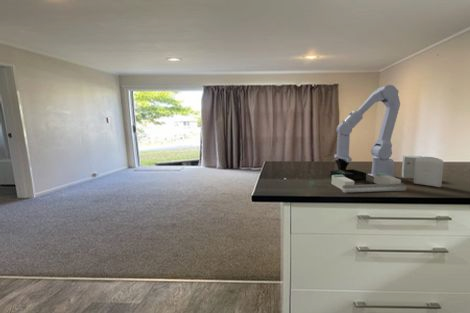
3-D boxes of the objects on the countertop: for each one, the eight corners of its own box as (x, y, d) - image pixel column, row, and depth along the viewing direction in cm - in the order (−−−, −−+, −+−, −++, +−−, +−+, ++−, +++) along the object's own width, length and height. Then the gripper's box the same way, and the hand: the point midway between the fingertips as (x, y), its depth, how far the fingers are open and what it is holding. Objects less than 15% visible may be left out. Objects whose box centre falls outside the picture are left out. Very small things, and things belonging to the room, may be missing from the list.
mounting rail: (402, 189, 111) (403, 183, 110) (406, 190, 109) (406, 184, 108) (342, 191, 109) (342, 185, 108) (344, 192, 107) (344, 186, 106)
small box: (419, 177, 132) (421, 155, 130) (422, 179, 127) (424, 157, 125) (401, 175, 135) (402, 155, 133) (403, 178, 130) (404, 156, 128)
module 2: (382, 182, 122) (382, 172, 122) (400, 189, 111) (401, 178, 110) (373, 182, 122) (374, 172, 121) (391, 189, 110) (391, 179, 110)
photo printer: (411, 183, 120) (414, 156, 118) (414, 181, 122) (417, 155, 120) (439, 188, 112) (442, 158, 110) (442, 186, 114) (445, 157, 113)
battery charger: (342, 183, 123) (342, 174, 123) (330, 178, 132) (330, 170, 132) (366, 181, 126) (366, 172, 126) (352, 176, 136) (352, 169, 135)
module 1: (340, 183, 121) (340, 174, 120) (354, 190, 109) (354, 180, 108) (331, 183, 120) (331, 174, 120) (344, 191, 109) (345, 180, 108)
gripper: (329, 146, 140) (327, 171, 142) (342, 149, 126) (340, 177, 128) (341, 145, 141) (340, 171, 143) (356, 149, 127) (355, 177, 129)
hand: (341, 174), depth 136 cm, fingers closed
